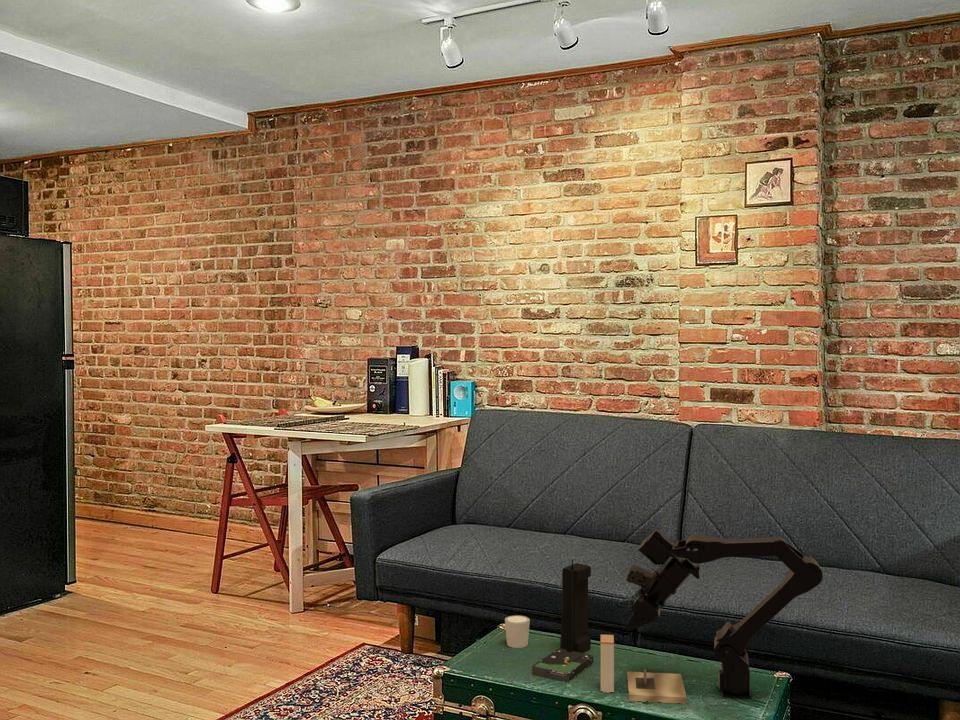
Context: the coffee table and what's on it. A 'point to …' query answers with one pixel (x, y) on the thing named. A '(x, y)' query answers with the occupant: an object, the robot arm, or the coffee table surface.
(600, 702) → the coffee table surface
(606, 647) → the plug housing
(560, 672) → the disk drive
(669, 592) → the robot arm
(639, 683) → the header board
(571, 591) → the dark tower with antenna
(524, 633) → the white cup
